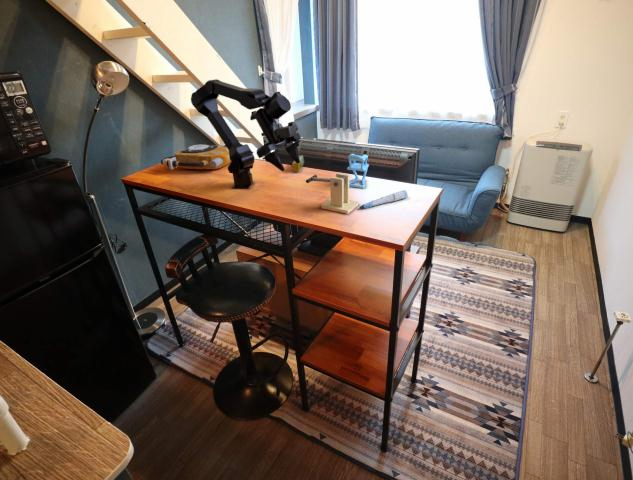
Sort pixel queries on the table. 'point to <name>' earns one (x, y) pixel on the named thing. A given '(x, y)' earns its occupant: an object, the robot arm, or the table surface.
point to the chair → (358, 168)
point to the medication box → (298, 166)
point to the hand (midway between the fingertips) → (291, 167)
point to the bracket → (339, 195)
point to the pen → (386, 199)
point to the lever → (321, 179)
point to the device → (199, 157)
